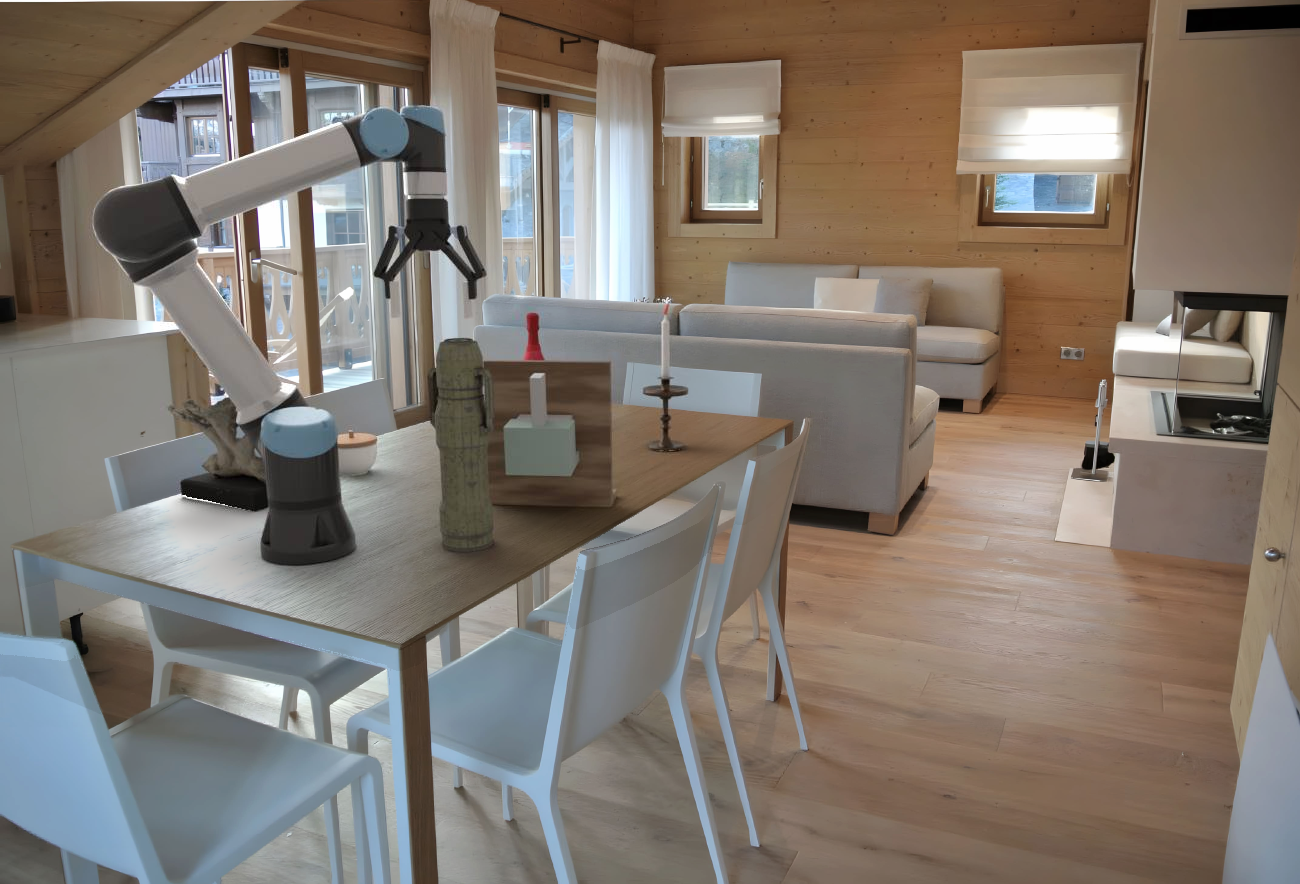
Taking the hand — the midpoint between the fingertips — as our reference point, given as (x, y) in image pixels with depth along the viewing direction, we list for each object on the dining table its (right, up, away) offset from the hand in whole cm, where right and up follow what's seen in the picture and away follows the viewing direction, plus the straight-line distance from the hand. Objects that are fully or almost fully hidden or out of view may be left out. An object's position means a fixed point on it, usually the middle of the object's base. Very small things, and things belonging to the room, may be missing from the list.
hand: (432, 317), depth 184 cm
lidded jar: (-25, -30, +37) cm, 54 cm away
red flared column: (+9, -18, +87) cm, 89 cm away
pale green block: (+20, -28, +5) cm, 34 cm away
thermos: (+8, -40, -12) cm, 43 cm away
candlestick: (+43, -24, +60) cm, 78 cm away
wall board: (+21, -35, +13) cm, 42 cm away
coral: (-42, -35, +15) cm, 56 cm away
